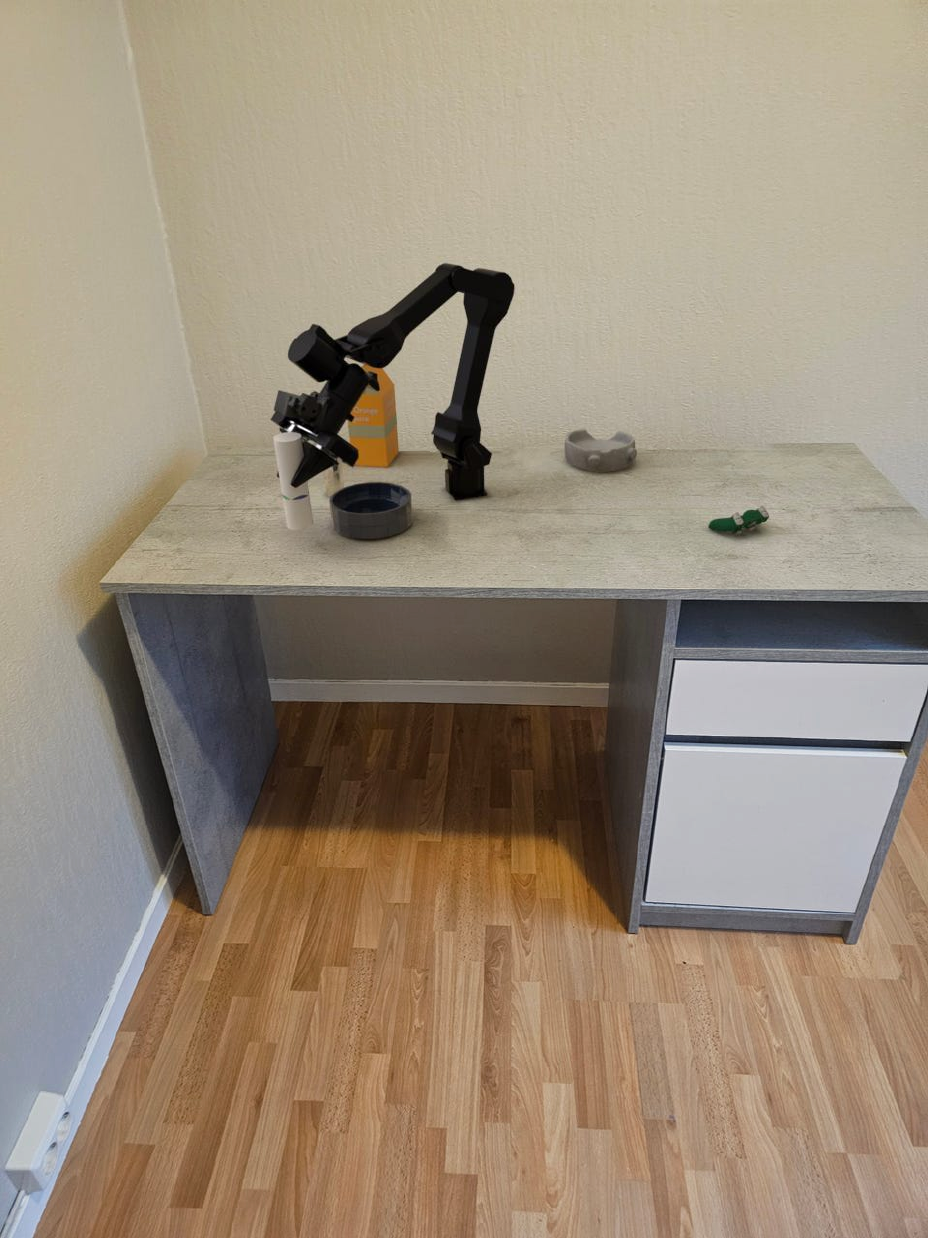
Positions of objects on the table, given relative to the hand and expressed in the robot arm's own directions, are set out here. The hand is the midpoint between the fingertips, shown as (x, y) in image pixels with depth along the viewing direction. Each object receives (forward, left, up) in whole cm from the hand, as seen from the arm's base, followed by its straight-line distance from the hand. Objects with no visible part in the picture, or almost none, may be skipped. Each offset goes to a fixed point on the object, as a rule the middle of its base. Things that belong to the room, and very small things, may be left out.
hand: (285, 482), depth 133 cm
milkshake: (-11, -20, -12) cm, 26 cm away
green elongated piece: (-72, +20, -12) cm, 76 cm away
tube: (-1, 0, -8) cm, 8 cm away
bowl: (-14, -5, -12) cm, 19 cm away
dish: (-64, -17, -12) cm, 67 cm away
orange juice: (-22, -36, -12) cm, 44 cm away
